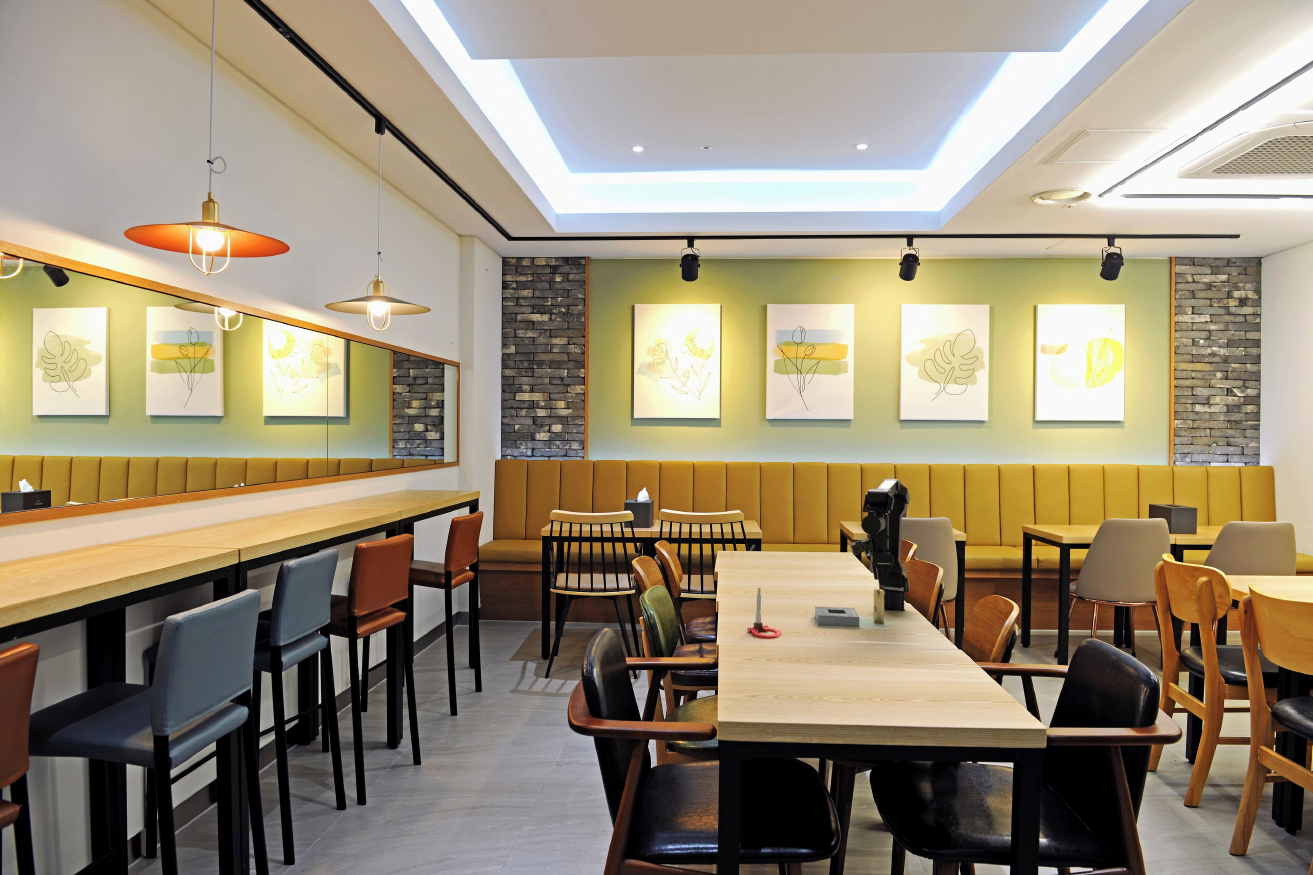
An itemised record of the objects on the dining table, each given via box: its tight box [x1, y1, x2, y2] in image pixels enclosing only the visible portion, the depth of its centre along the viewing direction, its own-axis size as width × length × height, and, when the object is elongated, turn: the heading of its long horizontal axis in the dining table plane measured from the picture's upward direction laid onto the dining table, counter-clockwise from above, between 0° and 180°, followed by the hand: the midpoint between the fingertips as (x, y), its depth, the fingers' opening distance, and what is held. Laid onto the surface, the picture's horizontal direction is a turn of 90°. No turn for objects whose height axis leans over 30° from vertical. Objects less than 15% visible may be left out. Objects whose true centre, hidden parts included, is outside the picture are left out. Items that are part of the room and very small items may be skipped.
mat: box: [815, 616, 892, 631], centre depth 223 cm, size 21×15×1 cm
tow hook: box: [747, 587, 782, 640], centre depth 210 cm, size 8×13×9 cm
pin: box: [873, 588, 885, 624], centre depth 222 cm, size 3×3×10 cm
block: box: [814, 606, 860, 627], centre depth 224 cm, size 12×12×3 cm
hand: (878, 582), depth 222 cm, fingers open, 9 cm apart
